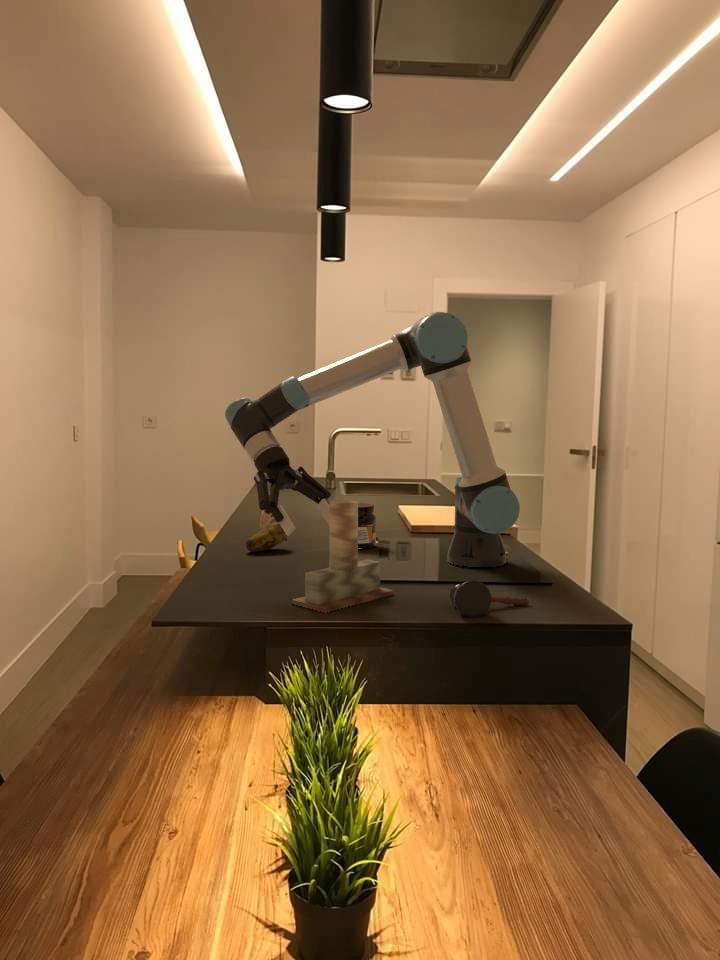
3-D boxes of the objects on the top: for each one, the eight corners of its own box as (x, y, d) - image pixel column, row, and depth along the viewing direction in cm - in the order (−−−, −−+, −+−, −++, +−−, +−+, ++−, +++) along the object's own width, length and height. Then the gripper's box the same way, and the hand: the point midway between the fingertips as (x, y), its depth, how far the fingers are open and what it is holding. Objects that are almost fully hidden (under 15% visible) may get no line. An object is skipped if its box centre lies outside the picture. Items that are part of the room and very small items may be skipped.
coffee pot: (453, 616, 165) (442, 612, 173) (540, 625, 168) (524, 620, 176) (457, 578, 166) (446, 575, 174) (543, 587, 168) (528, 584, 177)
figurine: (287, 531, 264) (286, 494, 262) (272, 535, 258) (272, 496, 256) (269, 529, 267) (269, 492, 266) (254, 532, 261) (254, 494, 260)
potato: (240, 549, 234) (240, 521, 233) (285, 546, 239) (284, 518, 238) (248, 555, 227) (248, 525, 226) (293, 551, 231) (293, 523, 231)
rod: (352, 563, 183) (353, 499, 181) (361, 569, 177) (361, 503, 175) (326, 565, 181) (326, 500, 179) (333, 570, 175) (334, 504, 174)
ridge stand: (359, 587, 191) (359, 556, 190) (393, 594, 184) (393, 563, 183) (291, 604, 175) (291, 571, 174) (325, 613, 168) (325, 578, 168)
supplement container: (364, 551, 233) (364, 508, 231) (332, 547, 238) (332, 505, 237) (382, 545, 242) (382, 504, 240) (351, 541, 247) (351, 501, 246)
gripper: (299, 463, 203) (343, 531, 195) (217, 470, 185) (263, 546, 177) (314, 442, 199) (361, 511, 191) (232, 447, 181) (280, 524, 173)
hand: (314, 528), depth 184 cm, fingers open, 13 cm apart
